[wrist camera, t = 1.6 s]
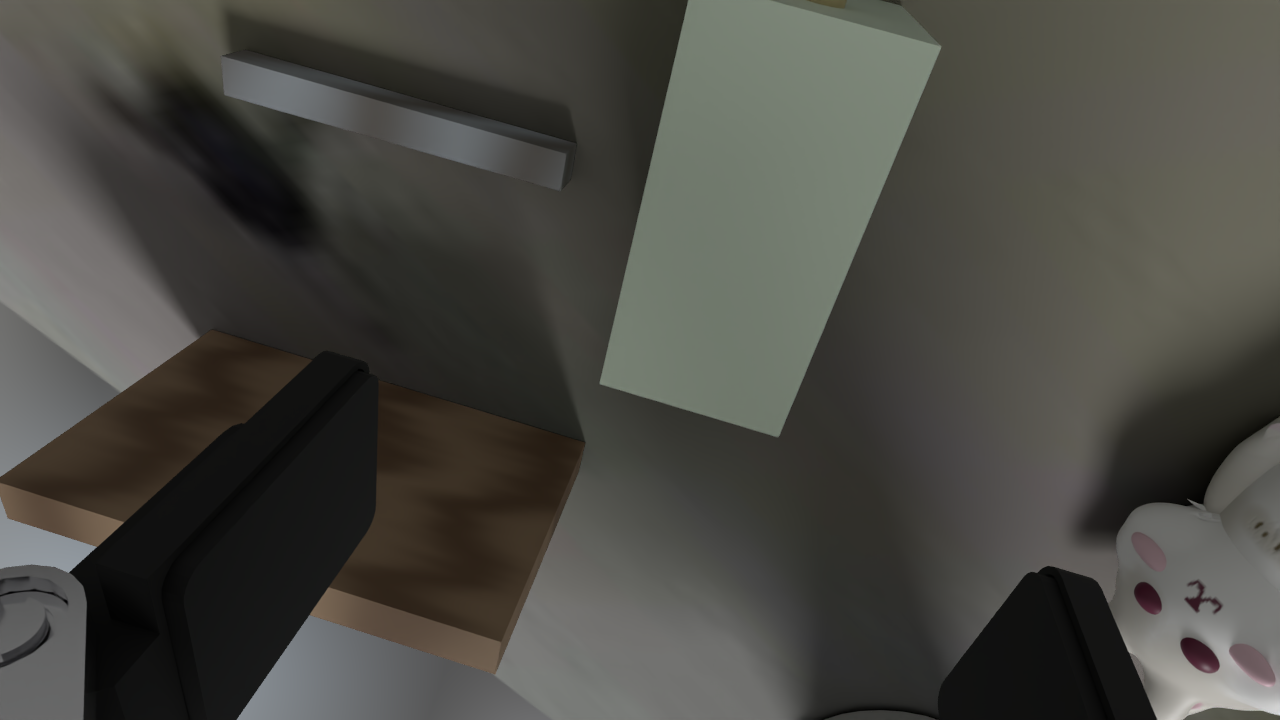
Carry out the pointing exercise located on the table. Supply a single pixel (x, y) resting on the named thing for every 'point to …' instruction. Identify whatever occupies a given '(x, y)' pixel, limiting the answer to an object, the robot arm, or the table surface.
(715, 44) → the pale green block
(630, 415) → the table surface
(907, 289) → the table surface
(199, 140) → the table surface
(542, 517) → the brown piece
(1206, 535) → the cat figurine
